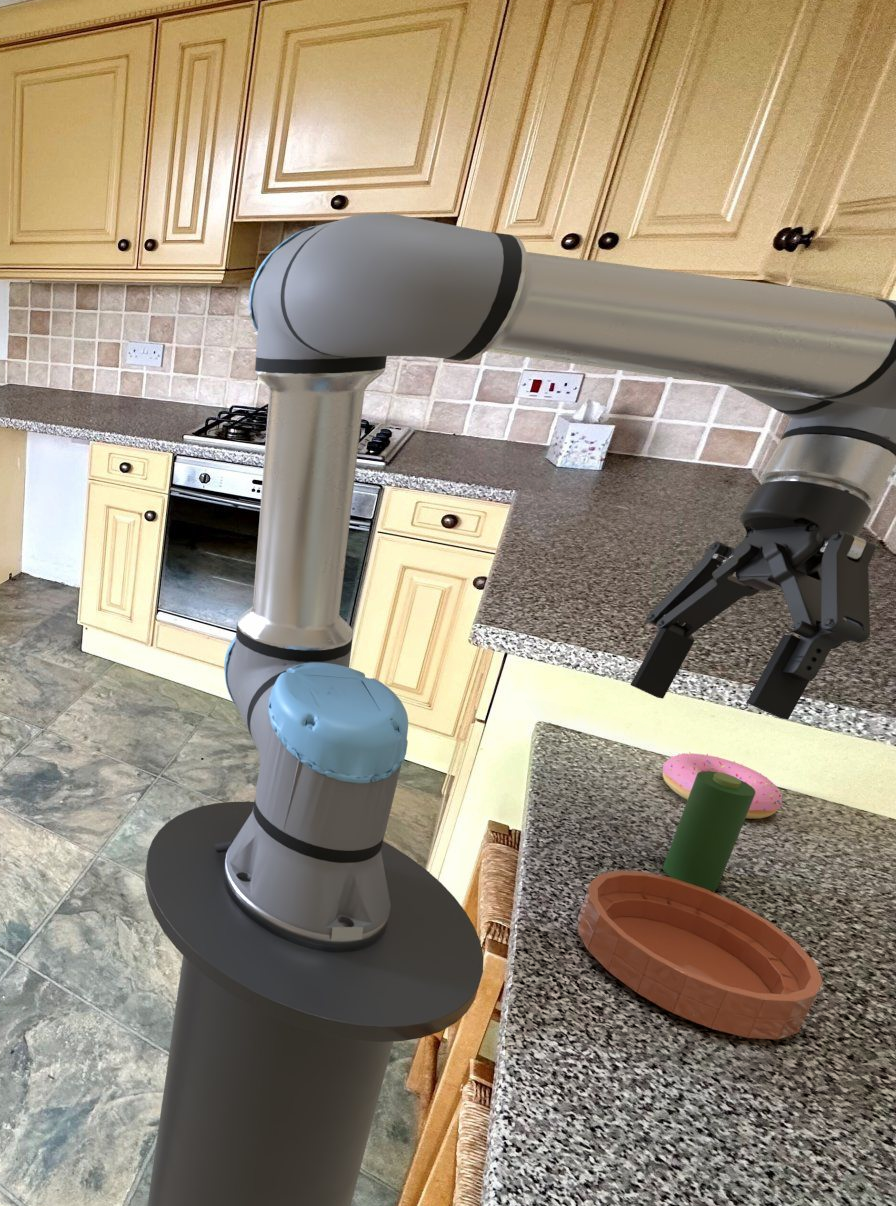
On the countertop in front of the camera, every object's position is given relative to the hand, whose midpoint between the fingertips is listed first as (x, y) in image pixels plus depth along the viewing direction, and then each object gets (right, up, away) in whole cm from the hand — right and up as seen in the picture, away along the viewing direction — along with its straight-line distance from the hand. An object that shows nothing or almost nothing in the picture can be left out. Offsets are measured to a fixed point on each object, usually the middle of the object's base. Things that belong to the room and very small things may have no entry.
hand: (700, 701), depth 71 cm
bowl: (-1, -25, +1) cm, 25 cm away
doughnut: (+29, -17, +27) cm, 43 cm away
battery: (+12, -22, +13) cm, 28 cm away
